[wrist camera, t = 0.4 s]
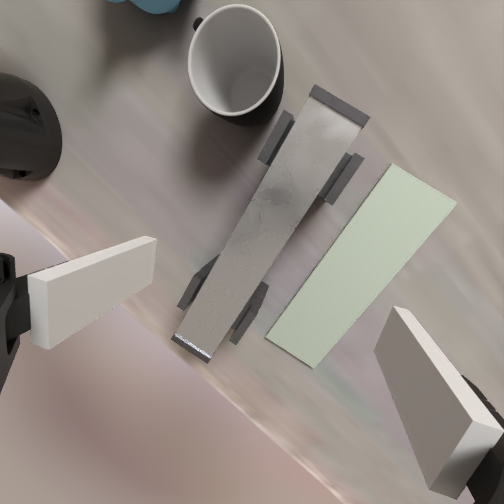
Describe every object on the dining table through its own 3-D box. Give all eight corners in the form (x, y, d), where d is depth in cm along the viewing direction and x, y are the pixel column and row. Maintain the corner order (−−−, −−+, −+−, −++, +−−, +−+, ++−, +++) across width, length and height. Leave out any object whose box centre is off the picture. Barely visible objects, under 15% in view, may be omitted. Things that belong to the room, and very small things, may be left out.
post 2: (270, 164, 35) (256, 158, 26) (290, 129, 33) (282, 109, 24) (327, 200, 34) (333, 205, 26) (350, 165, 33) (365, 159, 24)
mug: (304, 97, 32) (302, 60, 22) (251, 149, 35) (229, 137, 25) (241, 18, 31) (211, -54, 22) (192, 79, 34) (147, 39, 25)
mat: (265, 335, 42) (265, 337, 41) (390, 164, 32) (392, 163, 31) (313, 366, 41) (313, 368, 41) (455, 202, 31) (457, 202, 31)
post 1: (205, 279, 41) (176, 305, 32) (219, 254, 40) (193, 274, 31) (252, 310, 41) (236, 345, 32) (269, 285, 39) (257, 316, 30)
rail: (221, 338, 35) (207, 363, 30) (189, 317, 35) (170, 339, 30) (358, 129, 26) (370, 117, 21) (313, 102, 26) (314, 84, 21)
